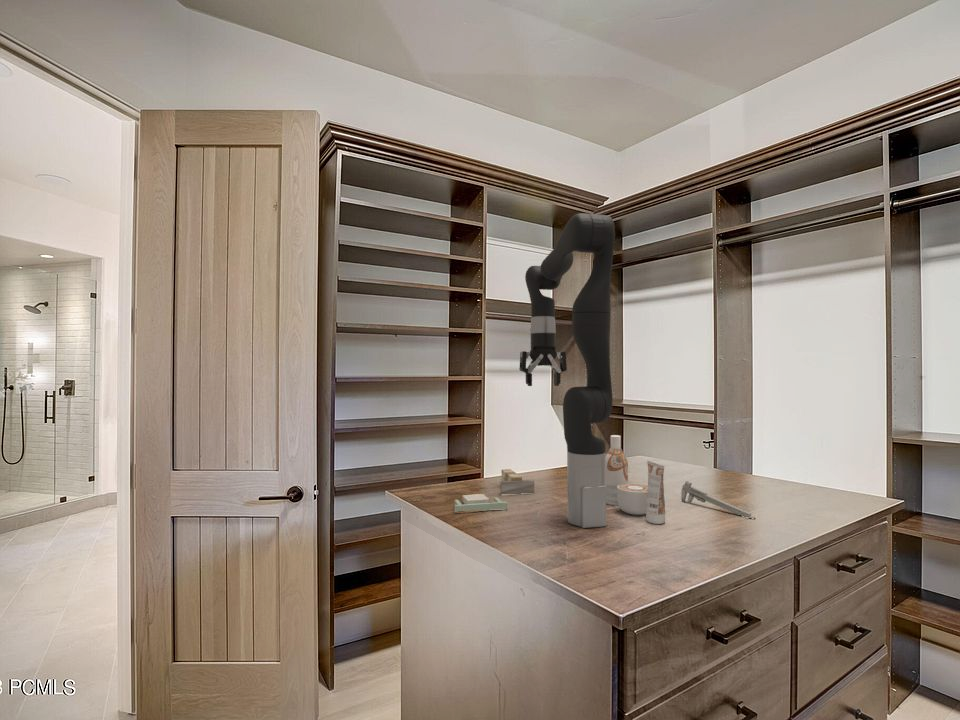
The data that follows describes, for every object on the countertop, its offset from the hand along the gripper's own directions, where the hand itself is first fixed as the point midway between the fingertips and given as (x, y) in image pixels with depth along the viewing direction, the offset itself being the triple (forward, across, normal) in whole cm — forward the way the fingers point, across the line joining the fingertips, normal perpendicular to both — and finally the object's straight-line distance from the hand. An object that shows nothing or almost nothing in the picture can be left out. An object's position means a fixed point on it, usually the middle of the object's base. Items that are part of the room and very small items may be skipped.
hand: (543, 385), depth 157 cm
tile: (+32, -23, -8) cm, 41 cm away
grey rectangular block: (+32, -8, +6) cm, 34 cm away
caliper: (+33, +38, -28) cm, 58 cm away
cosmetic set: (+32, +16, -25) cm, 44 cm away
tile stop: (+32, -23, -12) cm, 41 cm away
